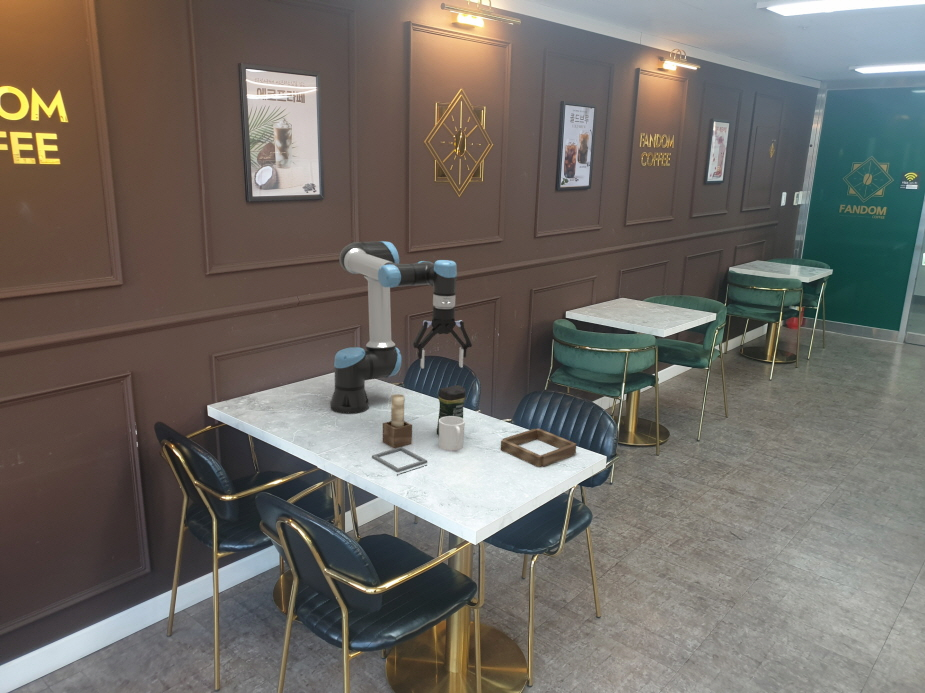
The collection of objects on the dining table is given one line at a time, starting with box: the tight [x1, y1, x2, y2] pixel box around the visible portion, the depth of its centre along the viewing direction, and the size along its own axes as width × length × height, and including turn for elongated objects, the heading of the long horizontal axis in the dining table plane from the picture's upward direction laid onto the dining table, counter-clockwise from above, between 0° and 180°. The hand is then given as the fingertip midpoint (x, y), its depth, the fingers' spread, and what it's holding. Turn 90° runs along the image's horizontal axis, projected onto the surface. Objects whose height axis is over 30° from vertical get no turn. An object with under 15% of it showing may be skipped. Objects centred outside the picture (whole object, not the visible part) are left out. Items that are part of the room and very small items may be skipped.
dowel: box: [390, 393, 405, 428], centre depth 242 cm, size 4×4×17 cm
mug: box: [438, 416, 466, 452], centre depth 241 cm, size 11×9×10 cm
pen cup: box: [382, 420, 413, 449], centre depth 243 cm, size 7×7×8 cm
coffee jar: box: [436, 384, 467, 436], centre depth 253 cm, size 10×8×19 cm
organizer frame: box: [500, 427, 577, 468], centre depth 244 cm, size 19×19×4 cm
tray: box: [371, 446, 428, 476], centre depth 230 cm, size 14×12×2 cm
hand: (441, 366), depth 244 cm, fingers open, 13 cm apart
